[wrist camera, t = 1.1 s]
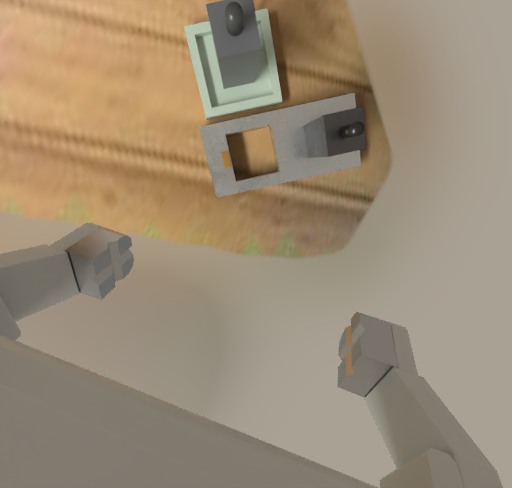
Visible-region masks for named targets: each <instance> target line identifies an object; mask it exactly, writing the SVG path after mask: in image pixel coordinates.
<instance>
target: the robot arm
mask: <svg viewBox="0 0 512 488" xmlns="http://www.w3.org/2000/svg"><path fill="white" fill-rule="evenodd" d="M131 246H132V242H131V238H130V237H129V236H127V235H124V234H122V233H119V232H116V231H113V230H110V229H108V228H105V227H101V226H99V225H96V224H93V223H86V224H84V225H83V226H81V227H79V228H78V229H76V230H74V231H73V232H71V233H70V234H68V235H66V236H65V237H63V238H61V239H60V240H58V241H57V242H55V243H53V244H52V245H50V246H48V245H41V246H36V247H32V248H27V249H22V250H17V251H13V252H9V253H3V254H0V488H377V487H375V486H372V485H370V484H368V483H365V482H363V481H360V480H358V479H355V478H353V477H351V476H348V475H346V474H343V473H341V472H338V471H335V470H333V469H331V468H328V467H326V466H323V465H321V464H318V463H316V462H313V461H311V460H309V459H306V458H304V457H301V456H299V455H296V454H294V453H291V452H289V451H286V450H284V449H281V448H279V447H276V446H274V445H272V444H269V443H266V442H264V441H262V440H259V439H257V438H254V437H252V436H249V435H247V434H245V433H242V432H239V431H237V430H235V429H232V428H230V427H227V426H225V425H222V424H220V423H217V422H215V421H212V420H210V419H207V418H205V417H202V416H200V415H198V414H195V413H193V412H190V411H188V410H185V409H183V408H180V407H178V406H175V405H173V404H171V403H168V402H166V401H163V400H161V399H158V398H156V397H153V396H151V395H148V394H146V393H143V392H141V391H138V390H136V389H134V388H131V387H129V386H126V385H124V384H121V383H119V382H116V381H114V380H111V379H109V378H106V377H104V376H101V375H99V374H97V373H94V372H92V371H89V370H86V369H84V368H82V367H79V366H77V365H74V364H72V363H70V362H67V361H64V360H62V359H60V358H57V357H54V356H52V355H50V354H47V353H45V352H42V351H40V350H37V349H35V348H33V347H30V346H27V345H25V344H23V343H20V342H17V341H15V340H16V339H17V338H18V337H19V336H20V333H21V331H20V329H19V328H18V326H17V324H16V322H15V321H18V320H20V319H22V318H24V317H27V316H29V315H31V314H34V313H36V312H38V311H41V310H43V309H45V308H48V307H50V306H52V305H54V304H57V303H59V302H61V301H64V300H66V299H68V298H71V297H73V296H75V295H78V294H79V292H80V293H83V294H86V295H89V296H92V297H95V298H98V299H101V300H102V299H103V298H104V297H105V296H106V295H107V294H108V293H109V292H110V291H111V290H112V289H113V288H114V287H115V281H118V280H121V279H124V278H125V277H126V275H128V274H129V272H130V270H131V268H132V266H133V261H134V259H133V254H132V253H131V251H130V250H129V248H130V247H131ZM339 357H340V358H341V360H342V362H341V364H340V365H339V367H338V387H340V388H342V389H345V390H347V391H350V392H352V393H355V394H357V395H360V396H362V397H365V398H364V399H365V402H366V404H367V406H368V408H369V410H370V412H371V414H372V416H373V419H374V420H375V423H376V425H377V427H378V429H379V431H380V433H381V435H382V438H383V440H384V442H385V444H386V446H387V448H388V450H389V452H390V454H391V457H392V459H393V461H394V463H395V465H396V467H397V469H396V470H394V471H393V472H391V473H390V474H388V475H387V476H385V477H383V478H382V479H381V480H380V488H503V487H502V484H501V482H500V479H499V476H498V473H497V471H496V470H495V468H494V467H493V466H492V464H491V463H490V462H489V461H488V459H487V458H486V457H485V456H484V454H483V453H482V452H481V450H480V449H479V448H478V447H477V445H476V444H475V443H474V442H473V440H472V439H471V438H470V437H469V435H468V434H467V433H466V431H465V430H464V429H463V428H462V426H461V425H460V424H459V423H458V421H457V420H456V419H455V417H454V416H453V415H452V414H451V412H450V411H449V410H448V408H447V407H446V406H445V405H444V404H443V402H442V401H441V399H440V398H439V397H438V396H437V394H436V393H435V392H434V391H433V389H432V388H431V387H430V385H429V384H428V383H427V382H426V380H425V379H424V378H423V377H421V376H418V373H417V369H416V365H415V361H414V356H413V352H412V348H411V344H410V339H409V335H408V331H407V329H406V328H405V327H402V326H399V325H396V324H393V323H390V322H386V321H383V320H380V319H377V318H374V317H371V316H368V315H365V314H362V313H359V312H356V313H355V314H354V315H353V317H352V319H351V326H349V327H346V328H345V330H344V332H343V334H342V336H341V340H340V344H339Z"/></svg>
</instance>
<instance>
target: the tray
mask: <svg viewBox="0 0 512 488" xmlns="http://www.w3.org/2000/svg"><path fill="white" fill-rule="evenodd" d="M255 14H256V20H257V26H258V32H259V37H260V43H261V52H260V57H259V62H258V67H257V72H256V76H255V81H254V83H249V84H245V85H240V86H236V87H231V88H227V89H224V88H223V83H222V79H221V74H220V70H219V65H218V61H217V56H216V51H215V46H214V41H213V36H212V31H211V26H210V21H206V22H202V23H197V24H193V25H188V26H184V29H185V33H186V37H187V41H188V46H189V50H190V54H191V58H192V62H193V66H194V70H195V74H196V79H197V83H198V87H199V91H200V95H201V99H202V103H203V107H204V111H205V116H206V119H207V120H208V119H213V118H217V117H222V116H227V115H231V114H236V113H240V112H245V111H249V110H254V109H258V108H263V107H268V106H272V105H277V104H281V102H282V95H281V89H280V83H279V77H278V71H277V65H276V58H275V52H274V46H273V40H272V34H271V27H270V21H269V15H268V9H267V8H266V9H261V10H257V11H255Z"/></svg>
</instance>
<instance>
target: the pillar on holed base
mask: <svg viewBox="0 0 512 488" xmlns="http://www.w3.org/2000/svg"><path fill="white" fill-rule="evenodd" d="M266 127H269V129H270V134H271V140H272V145H273V151H274V157H275V162H276V168H277V172H272V173H268V174H263V175H258V176H254V177H249V178H245V179H240V180H236V178H235V174H234V169H233V165H232V160H231V156H230V151H229V147H228V143H227V138H226V136H229V135H234V134H238V133H243V132H247V131H252V130H256V129H261V128H266ZM199 129H200V133H201V137H202V141H203V145H204V149H205V153H206V157H207V161H208V165H209V169H210V173H211V176H212V180H213V184H214V188H215V192H216V196H217V197H221V196H226V195H231V194H235V193H240V192H244V191H249V190H253V189H258V188H262V187H267V186H271V185H276V184H281V183H285V182H290V181H294V180H299V179H303V178H308V177H312V176H317V175H322V174H326V173H331V172H335V171H340V170H344V169H349V168H353V167H358V166H361V159H360V150H362V149H366V138H365V126H364V114H363V106H362V107H358V108H356V102H355V93H351V94H347V95H342V96H338V97H333V98H329V99H324V100H320V101H315V102H310V103H306V104H301V105H297V106H292V107H288V108H283V109H279V110H274V111H269V112H265V113H260V114H256V115H251V116H247V117H242V118H238V119H233V120H229V121H224V122H219V123H215V124H210V125H206V126H201V127H199Z"/></svg>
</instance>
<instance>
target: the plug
mask: <svg viewBox="0 0 512 488" xmlns="http://www.w3.org/2000/svg"><path fill="white" fill-rule="evenodd" d="M206 7H207V11H208V16H209V21H210V26H211V31H212V36H213V41H214V46H215V51H216V56H217V61H218V65H219V70H220V74H221V79H222V83H223V88H224V89H227V88H231V87H236V86H240V85H245V84H249V83H254V81H255V76H256V72H257V67H258V62H259V57H260V52H261V43H260V37H259V32H258V26H257V20H256V14H255V9H254V3H253V0H224V1H219V2H214V3H210V4H206Z"/></svg>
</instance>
